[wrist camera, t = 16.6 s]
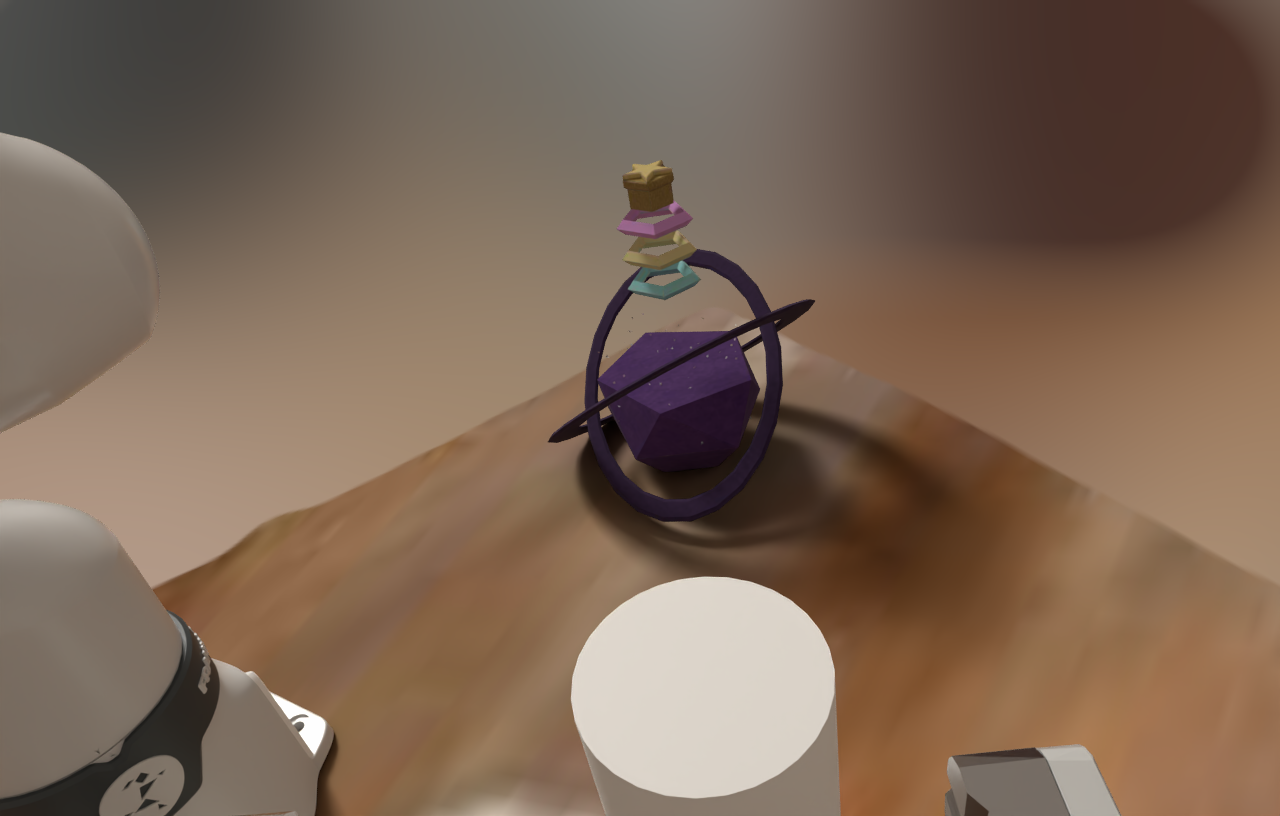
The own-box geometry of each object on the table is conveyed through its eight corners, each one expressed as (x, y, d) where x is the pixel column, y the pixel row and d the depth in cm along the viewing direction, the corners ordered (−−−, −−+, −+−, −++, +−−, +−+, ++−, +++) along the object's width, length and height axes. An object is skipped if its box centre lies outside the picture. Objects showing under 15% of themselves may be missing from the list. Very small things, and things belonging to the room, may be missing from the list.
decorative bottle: (713, 355, 86) (682, 102, 72) (874, 443, 71) (875, 144, 57) (521, 456, 77) (442, 190, 63) (658, 582, 62) (594, 268, 48)
